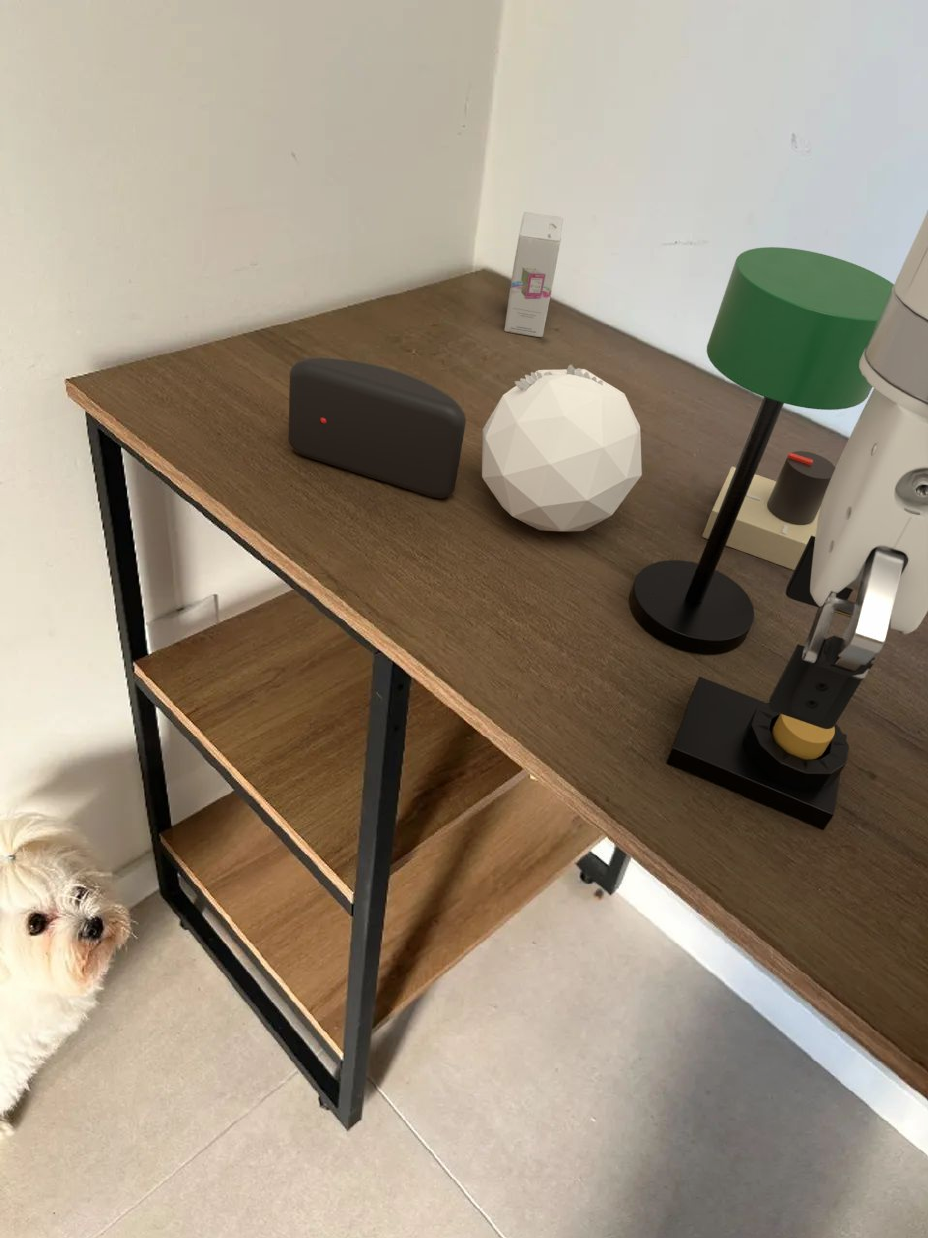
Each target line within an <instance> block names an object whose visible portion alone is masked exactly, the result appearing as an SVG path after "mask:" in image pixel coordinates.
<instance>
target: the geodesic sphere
mask: <svg viewBox="0 0 928 1238" xmlns="http://www.w3.org/2000/svg"><path fill="white" fill-rule="evenodd" d="M524 377H525V378H524ZM524 377H522V378H519V380H514V384H515V386H514V387H512V388H510V389H509V390H508V391H506V392H505V393H504V394H503V395H502V396H501V398H500V399H499V401H498V402H497V404H496V405H495V408H494V410H493V411H492V413H491V415H490V416H489V418H488V420H487V421H486V423H485V425H484V426H483V428H482V429H481V430H482V433H481V434H482V435H481V436H482V437H481V438H482V439H481V440H482V443H481V444H482V445H481V447H482V450H481V451H482V452H481V464H482V465H481V478H482V479H483V481H484V483H485V484H486V486H487V487H488V488H489V490H490V492H491V493H492V495H494V497H495V498H496V500H497V502H498V503H499V505H500V506H501V508H503V509H504V510H505V511H506V512H507V513H508V514H509V515H510V516H511V517H512V518H514V519H516V520H519V521H521V522H522V523H525V524H526V525H528V526H530V527H532V528H534V529H535V530H538V531H547V532H549V531H550V532H584V531H586V530H587V529H590V528H592V527H593V526H596V525H597V524H599V523H601V522H603V521H604V520H606V519H608V518H610V517H612V516H613V515H614V513H615V512H616V511H617V509H618V508H619V506H620V505H621V504H622V503H623V501H624V500H625V499H626V497H627V496H628V494H629V493H630V492H631V490H632V489H633V488H634V487H635V485H636V484H637V482H638V481H639V479H640V478H641V477H642V476H643V473H642V472H643V468H642V442H641V426H640V423H639V421H638V419H637V417H636V415H635V413H634V411H633V408H632V406H631V404H630V402H629V400H628V398H627V396H626V394H625V393H624V391H623V392H622V391H621V390H619V389H618V388H616V387H614V385H611V384H610V383H608V382H606V381H604V380H603V379H602V378H600V377H598V376H597V375H595V374H594V373H592V372H590V371H589V370H587V369H586V368H580V367H577V368H575V366H574V365H573V364H569V365H568V366H567V369H565V368H564V369H563V368H562V369H538V370H536V371H534V372H533V371H531V372H530V375H529V374H524Z"/></svg>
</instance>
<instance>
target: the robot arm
mask: <svg viewBox="0 0 928 1238" xmlns="http://www.w3.org/2000/svg"><path fill="white" fill-rule="evenodd" d="M904 259H905V260H904V262H903V263H902V266H901V268H900V270H899V272H898V275H897V277H896V279H895V282H894V283H893V284H894V286H893V288H892V290H891V292H890V294H889V296H888V299H887V301H886V303H885V305H884V307H883V310H882V312H881V314H880V316H879V318H878V321H877V323H876V325H875V327H874V329H873V332H872V334H871V336H870V338H869V340H868V343H867V345H866V348H865V350H864V352H863V354H862V356H861V359H860V361H859V368H860V371H861V373H862V375H863V376H864V377H865V378H866V380H867V382H868V383H869V384H870V385H871V386H872V389H873V390H871V391H872V392H870V394H869V396H868V399H867V401H866V403H865V405H864V407H863V409H862V411H861V413H860V415H859V417H858V419H857V421H856V423H855V425H854V427H853V429H852V431H851V433H850V436H849V437H848V440H847V441H846V444H845V445H844V446H845V447H843V448H844V449H843V451H842V452H841V455H840V457H839V460H838V461H837V463H836V466H835V470H834V473H833V475H832V477H831V480H830V482H829V485H828V487H827V490H826V492H825V495H824V498H823V501H822V504H821V508H820V511H819V516H818V522H817V529H816V536H815V537H814V536H811V537H810V539H809V541H808V543H807V545H806V547H805V549H804V551H803V554H802V556H801V558H800V560H799V562H798V564H797V566H796V568H795V570H793V572H792V574H791V576H790V579H789V581H788V583H787V585H786V589H785V595H786V597H787V598H789V599H791V600H794V601H796V602H800V603H803V604H806V605H809V606H812V607H814V608H815V607H816V608H817V612H816V614H815V616H814V619H813V621H812V625H811V627H810V631H809V632H808V636H807V639H806V641H805V644H804V645H801V644H799V643H797V645H796V646H795V648H794V650H793V652H792V654H791V655H790V658H789V660H788V662H787V664H786V666H785V668H784V670H783V671H782V674H781V675H780V677H779V679H778V681H777V683H776V684H775V687H774V689H773V691H772V693H771V694H770V696H769V701H768V702H769V708H770V709H771V710H772V711H774V712H777V713H780V714H783V715H786V716H789V717H791V718H794V719H797V720H800V721H803V722H806V723H809V724H812V725H814V726H817V727H820V728H823V729H831V728H833V727H834V726H835V724H836V725H837V722H838V721H839V720H840V718H841V716H842V715H843V712H844V711H845V709H846V708H847V706H848V704H849V702H850V701H851V699H852V697H853V696H854V694H855V693H856V692H857V689H858V688H859V686H860V684H861V683H862V681H864V679H865V678H866V677H867V675H868V673H869V670H871V668H872V667H873V665H874V663H872V662H873V661H875V659H876V656H877V655H879V654H880V652H881V651H882V650H883V647H884V645H885V642H886V639H887V636H888V631H889V628H890V629H891V630H895V631H898V632H899V634H902V635H908V634H910V633H912V632H914V631H916V630H918V628H919V627H920V625H921V623H922V622H923V620H924V618H925V617H926V615H927V613H928V210H927V211H926V213H925V215H924V218H923V219H922V223H921V225H920V227H919V229H918V232H917V234H916V236H915V237H914V239H913V242H912V244H911V247H910V248H909V251H908V252H907V255H906V257H905V258H904ZM853 591H856V592H857V596H856V600H855V601H851V600H849V598H850V597H851V594H852V593H853ZM835 614H838V615H841V616H844V617H847V618H850V621H849V623H848V625H847V627H846V628H845V630H844V631H843V633H842V637H840V636H837V635H833V636H830V637H827V635H828V631H829V629H830V626H831V623H832V620H833V617H834V615H835Z"/></svg>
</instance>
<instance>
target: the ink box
mask: <svg viewBox="0 0 928 1238" xmlns="http://www.w3.org/2000/svg"><path fill="white" fill-rule="evenodd" d="M563 221H564V218H563V217H561V216H557V215H548V214H540V213H533V212H525V211H524V212H523V215H522V219H521V224H520V229H519V234H518V239H517V246H516V249H515V256H514V262H513V268H512V272H511V273H512V274H511V281H510V287H509V294H508V302H507V307H506V308H507V309H506V316H505V323H504V329H503V330H504V332H506V333H512V334H517V335H523V336H529V337H536V338H543V337H544V332H545V327H546V322H547V317H548V310H549V306H550V301H551V295H552V289H553V286H554V279H555V274H556V269H557V262H558V258H559V252H560V245H561V242H562V241H561V240H562V230H563Z"/></svg>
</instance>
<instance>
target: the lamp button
mask: <svg viewBox="0 0 928 1238" xmlns="http://www.w3.org/2000/svg"><path fill="white" fill-rule="evenodd" d="M834 734H835V728H834V727H833V728H831V729H823V728H820V727H817V726H814V725H812V724H809V723H806V722H803V721H800V720H797V719H794V718H791V717H789V716H786V715H783V714H780V715H779V717H778V719H777V721H776V723H775V725H774V727H773V737H774V739H775V741H776V743H777V744H779V745H780V746H781V747H782V748H783V749H784V750H785V751H787V752H788V753H790V754H792V755H795V756H797V757H800V758H802V759H816V758H818V757H820V756H821V755H822V754H823V753H824V751H825V750H826V748H827V746H828V745H829V743H830V741H831V740H832V738H833V736H834Z"/></svg>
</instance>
